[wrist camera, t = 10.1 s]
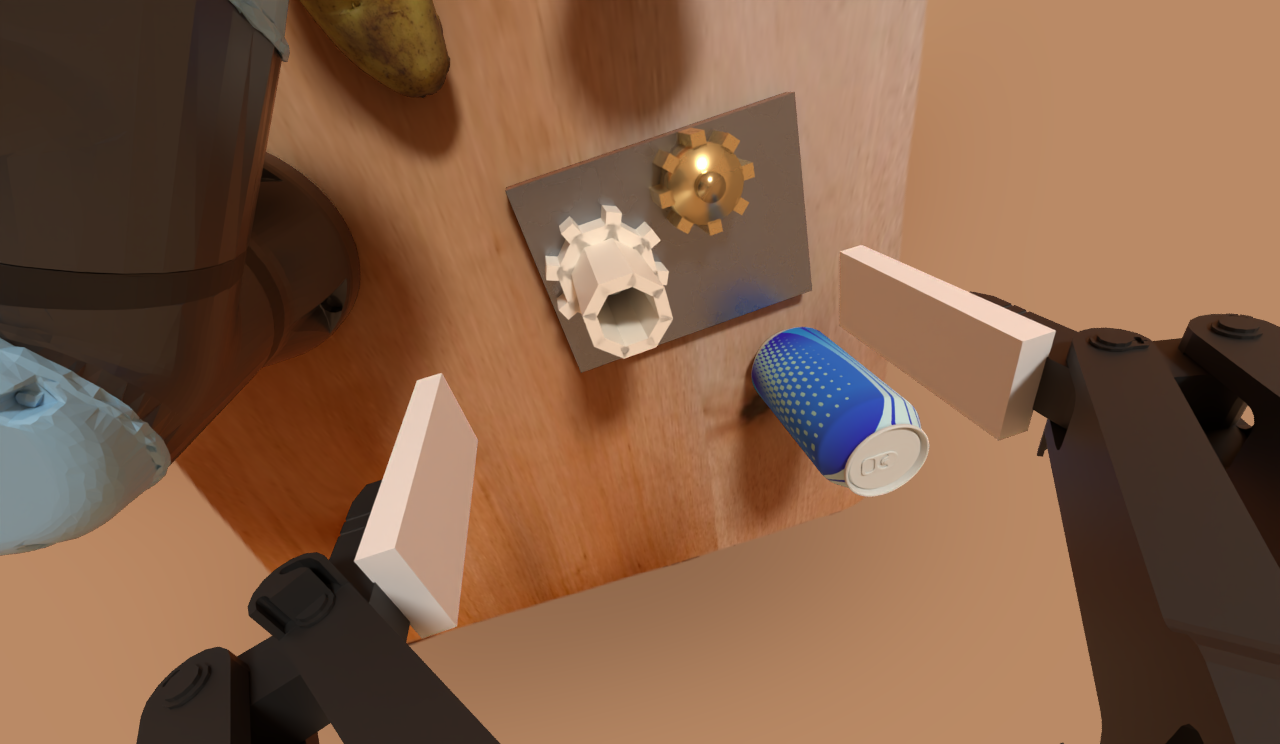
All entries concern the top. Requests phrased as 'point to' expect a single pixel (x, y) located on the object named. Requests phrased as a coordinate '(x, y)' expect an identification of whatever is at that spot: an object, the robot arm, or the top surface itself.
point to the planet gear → (612, 282)
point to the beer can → (839, 412)
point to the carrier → (689, 215)
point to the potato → (388, 40)
